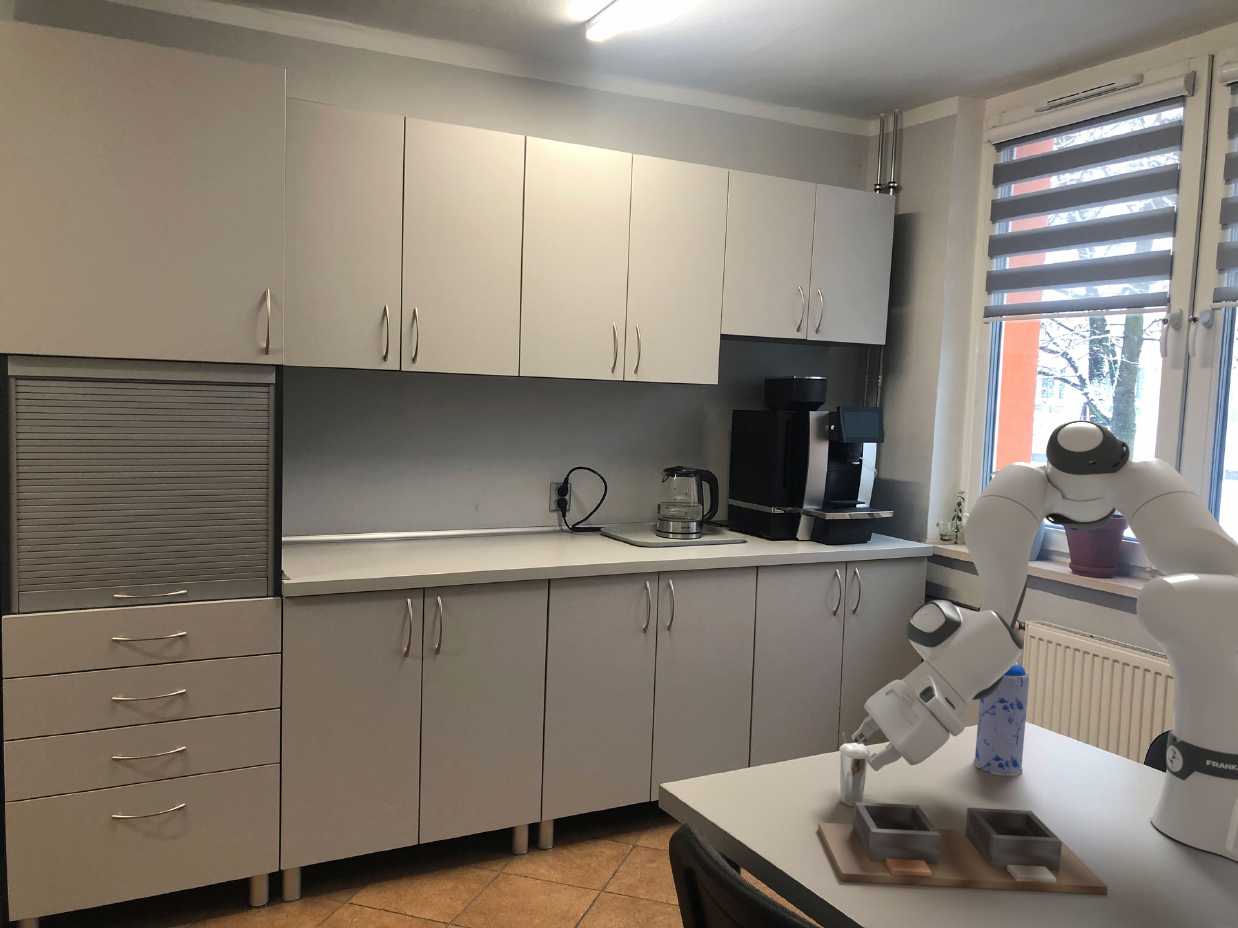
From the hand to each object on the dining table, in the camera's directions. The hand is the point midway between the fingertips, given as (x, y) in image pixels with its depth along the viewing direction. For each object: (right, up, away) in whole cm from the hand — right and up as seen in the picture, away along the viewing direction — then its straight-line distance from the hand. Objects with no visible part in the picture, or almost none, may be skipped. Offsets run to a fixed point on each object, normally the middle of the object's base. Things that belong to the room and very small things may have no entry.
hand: (862, 753), depth 140 cm
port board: (+8, -9, -17) cm, 21 cm away
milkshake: (-2, -8, 0) cm, 8 cm away
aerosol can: (+28, -8, +17) cm, 34 cm away
